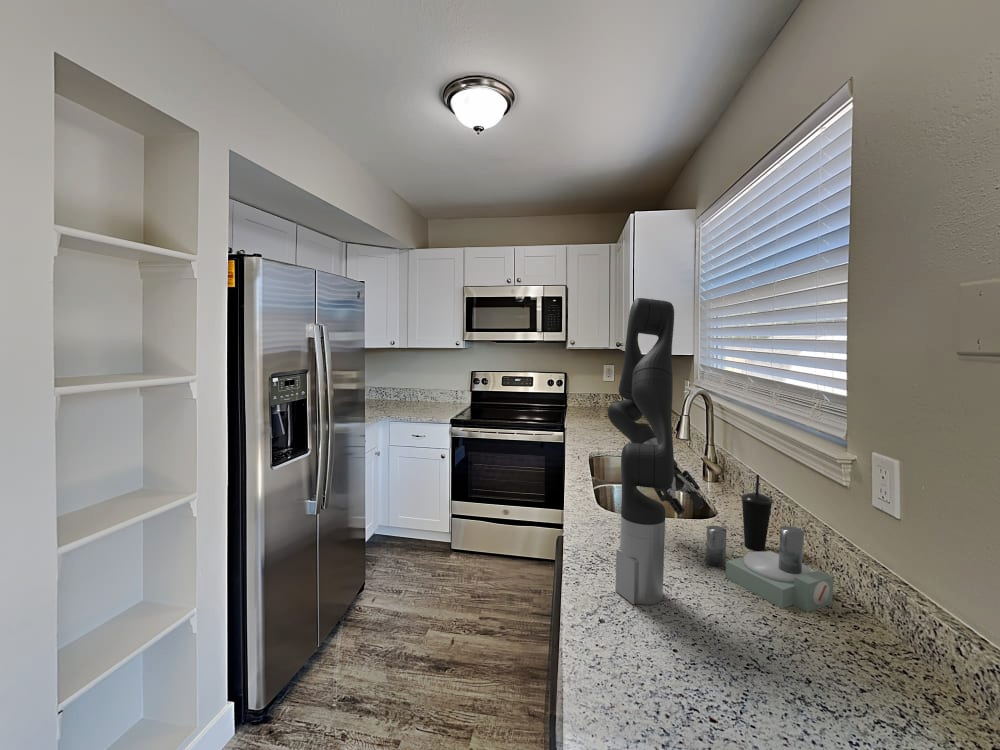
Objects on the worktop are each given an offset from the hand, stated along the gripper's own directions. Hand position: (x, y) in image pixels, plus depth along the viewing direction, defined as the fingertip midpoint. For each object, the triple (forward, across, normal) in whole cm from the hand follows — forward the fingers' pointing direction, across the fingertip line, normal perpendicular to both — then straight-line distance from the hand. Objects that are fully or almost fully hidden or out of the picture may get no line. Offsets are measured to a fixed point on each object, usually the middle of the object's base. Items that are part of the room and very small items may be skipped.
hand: (691, 510), depth 122 cm
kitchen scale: (+24, +1, -8) cm, 25 cm away
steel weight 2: (+21, +2, -12) cm, 25 cm away
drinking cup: (+14, +18, +3) cm, 23 cm away
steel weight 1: (+13, 0, +3) cm, 14 cm away
